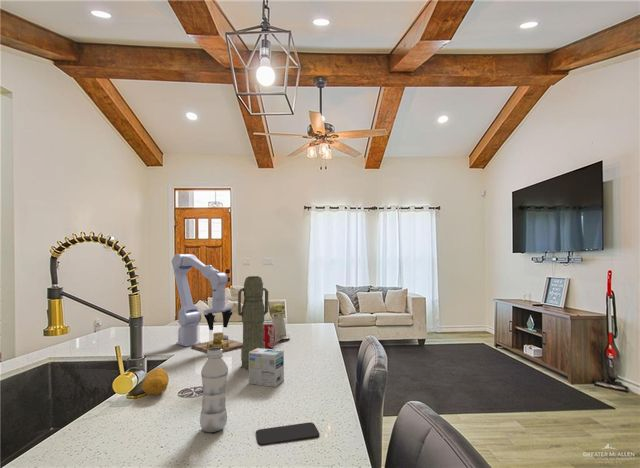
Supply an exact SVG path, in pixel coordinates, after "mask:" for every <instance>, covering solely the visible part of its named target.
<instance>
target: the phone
mask: <svg viewBox="0 0 640 468" xmlns="http://www.w3.org/2000/svg"><path fill="white" fill-rule="evenodd" d="M320 435H321V433H320V432H319V430H318V428H317V426H316V425H315V423H314V422H311V421H310V422H302V423H295V424H289V425H280V426H275V427H274V426H273V427H268V428H259V429H257V430H256V431H255V436H256V441H257V444H258V445H259V446H260V447H261V446H262V447H263V446H270V445H277V444H283V443H291V442H297V441H304V440H305V441H306V440H312V439H318V438H319V437H320Z"/></svg>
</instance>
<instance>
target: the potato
mask: <svg viewBox="0 0 640 468" xmlns="http://www.w3.org/2000/svg"><path fill="white" fill-rule="evenodd" d="M145 376H146V378H145V377H144V378H145V379H144V378H143V380H142V382H141V383H142V384H141V389H142V391H143V392H145V393H146V394H147V395H151V396H156V395H161V393H163V392H165V391H166V390H167V387H168V385H169V381H170V380H169V375H168V373H167V371H166V370H164V368H161V367H158V368H154V369H152V370H151V371H148V372H147V373H146V375H145Z"/></svg>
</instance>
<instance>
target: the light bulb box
mask: <svg viewBox="0 0 640 468" xmlns="http://www.w3.org/2000/svg"><path fill="white" fill-rule="evenodd" d="M284 352H285V351H284V350H283V349H274V348H273V349H261V348H257V349H255V350H253V351H250V352H249V369H248V383H247V384H250V385H257V386H264V387H271V388H273V387H274V388H277V387H279V385H281V384H282V383H283V382H284V381H285V353H284Z"/></svg>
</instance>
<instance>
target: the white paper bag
mask: <svg viewBox="0 0 640 468" xmlns="http://www.w3.org/2000/svg"><path fill="white" fill-rule="evenodd" d="M268 310H269V314H270V315H271V316H273V318H272V320H271V322H273V323H274V326H275V343H278V342H280V341H281V340H285V339H287V340H288V339H291V336H290V335H288V334H287V329H286V323H285V319H284V316H285V315H286V313H285V304H284V303H281V302H278V303H273V305H272V306H271V308H269V307H268Z"/></svg>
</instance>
